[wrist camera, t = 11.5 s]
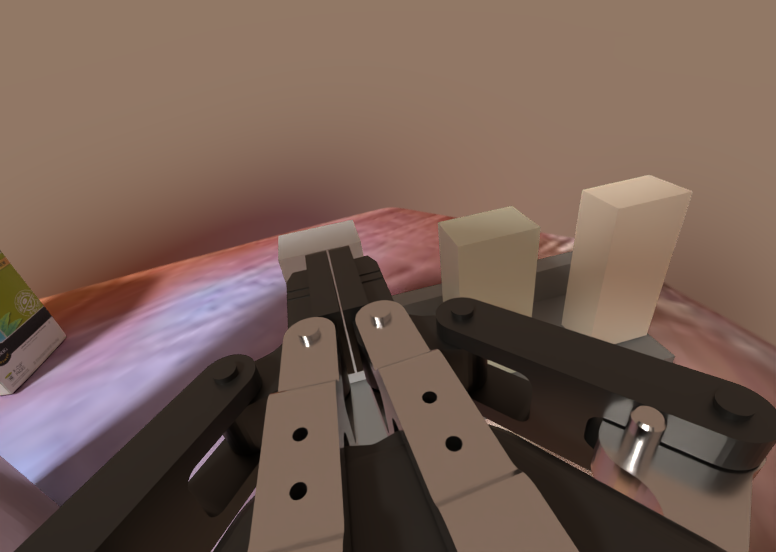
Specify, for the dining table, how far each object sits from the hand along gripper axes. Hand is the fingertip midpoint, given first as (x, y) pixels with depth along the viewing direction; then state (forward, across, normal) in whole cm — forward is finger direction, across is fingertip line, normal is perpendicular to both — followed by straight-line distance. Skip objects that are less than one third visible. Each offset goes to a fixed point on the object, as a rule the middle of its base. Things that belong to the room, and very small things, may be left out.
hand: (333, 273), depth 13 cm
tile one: (+12, +23, -20) cm, 33 cm away
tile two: (+12, +11, -20) cm, 26 cm away
